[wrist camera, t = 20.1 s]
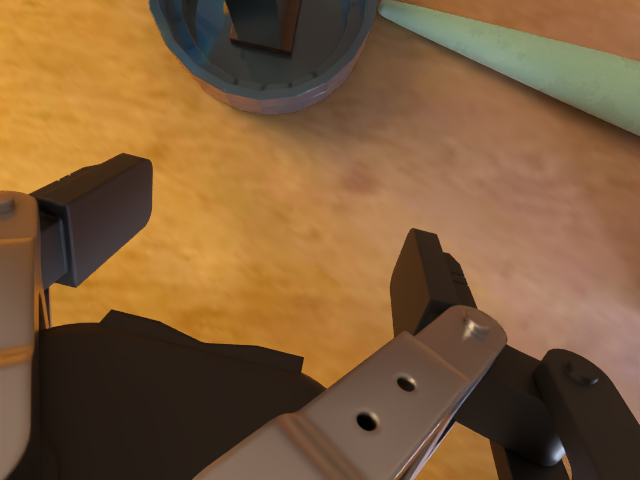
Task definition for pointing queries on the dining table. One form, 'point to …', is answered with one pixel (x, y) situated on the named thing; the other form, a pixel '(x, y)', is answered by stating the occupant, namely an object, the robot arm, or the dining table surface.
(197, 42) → the bowl
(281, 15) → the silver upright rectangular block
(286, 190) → the dining table surface
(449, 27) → the mint green cone
